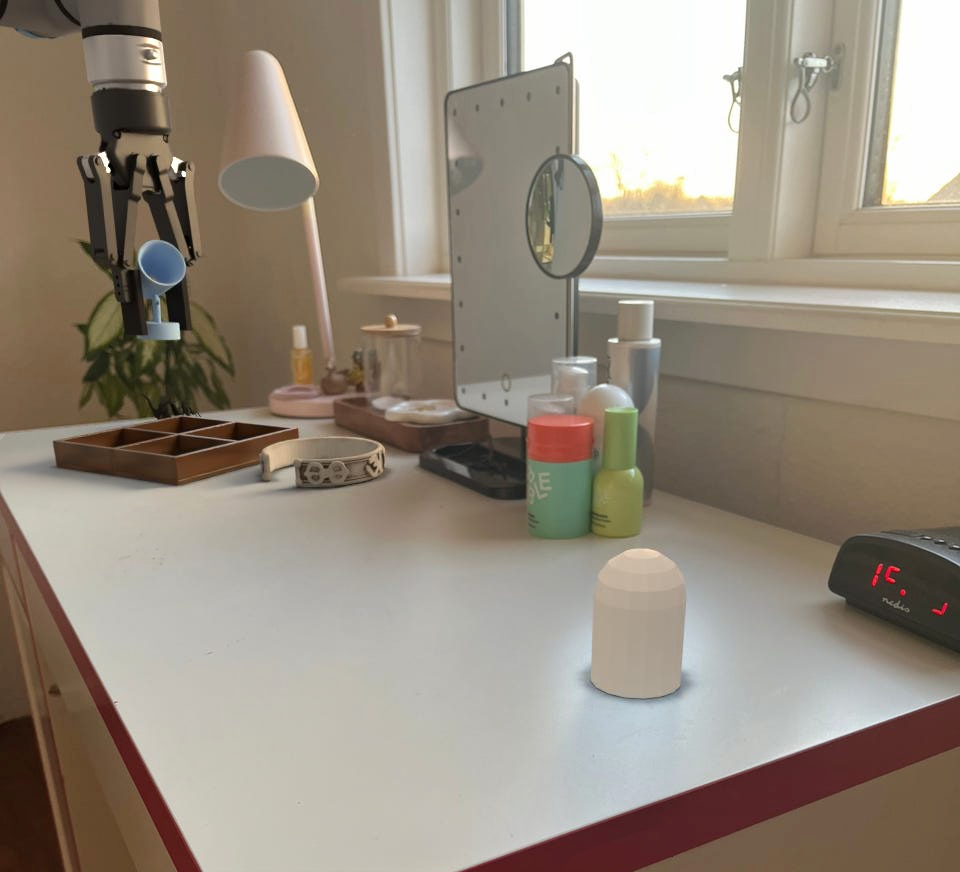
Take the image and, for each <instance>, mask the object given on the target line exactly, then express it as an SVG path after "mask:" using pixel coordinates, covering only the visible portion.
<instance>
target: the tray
mask: <svg viewBox="0 0 960 872" xmlns="http://www.w3.org/2000/svg"><path fill="white" fill-rule="evenodd" d="M299 433H300V431H299V427H293V426H285V425H277V424H276V425H275V424H267V423H257V422H256V423H255V422H249V421H237V420H230V419H221V418H220V419H219V418H210V417H202V416H201V417H199V416H198V417H196V416H194V415H192V416H186V415H184V416H183V415H180V416H171V417H170V418H165V419H160V420H158V419H155V420H150V421H145V422H139V423H135V424H130V425H126V426H125V425H124V426H120V427H115V428H110V429H106V430H100V431H95V432H91V433H86V434H80V435H74V436H70V437H64V438H60V439H55V440H52V447H53V453H54V459H55V465H56V467H57V468H63V469H70V470H77V471H82V472H88V473H95V474H103V475H109V476H115V477H121V478H127V479H128V478H129V479H133V480H134V479H135V480H142V481H148V482H154V483H162V484H166V485H174V486H183V485H186V484H189V483H194V482H197V481H200V480H203V479H208V478H211V477H215V476H218V475H223V474H225V473H230V472H235V471H237V470H240V469H245V468H248V467H251V466H255V465H260V457H259V454H261V452H262V450H263V449H264V448H266V447H267V446H270V445H272V444H275V443H278V442H282V441H287V440H292V439H300V435H299Z"/></svg>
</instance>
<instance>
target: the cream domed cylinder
mask: <svg viewBox="0 0 960 872" xmlns="http://www.w3.org/2000/svg"><path fill="white" fill-rule="evenodd" d="M686 609H687V591H686V584H685V577H684V575H683V573H682V572H681V570H679V567H678V566H677V565H676V563H675V562H674V561H673V560H671V559H670V558H668V557H667V556H666V555H664V554H662V553H661V552H659V551H657V550H654V549H651V548H631V549H627V550H625V551H623V552H621V553H619V554H617V555H616V556H614V557H612V558H610V559H608V561H607V562H606V563H605V564H604V566H603V567H602V569H601V570H600V571H599V572H598V574H597V580H596V584H595V587H594V591H593V600H592V629H591V630H592V632H591V663H590V682H591V683H592V684H593V685H594V686H595V688H597V689H599V690H600V691H602V692H604V693H607V694H608V695H611V696H612V695H613V696H617V697H621V698H626V699H627V698H628V699H645V700H646V699H653V698H654V699H655V698H661V697H663V696H664V697H665V696H667V695H669V694H673V693H674V692H676V691H677V690H678V689H679V688H680V687H681V683H682V670H683V669H682V667H683V653H684V640H685V639H684V638H685V625H686V612H687V611H686Z"/></svg>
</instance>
